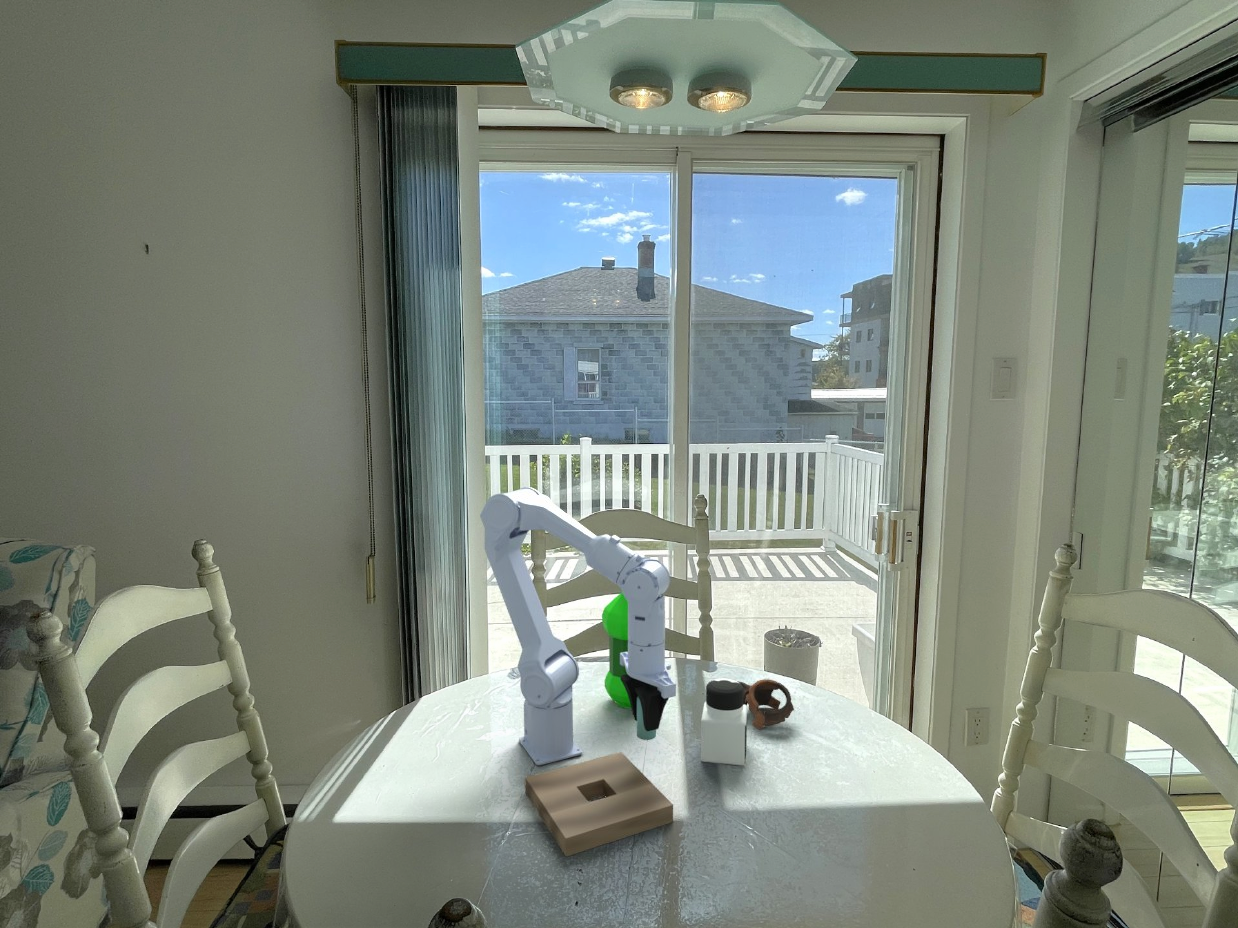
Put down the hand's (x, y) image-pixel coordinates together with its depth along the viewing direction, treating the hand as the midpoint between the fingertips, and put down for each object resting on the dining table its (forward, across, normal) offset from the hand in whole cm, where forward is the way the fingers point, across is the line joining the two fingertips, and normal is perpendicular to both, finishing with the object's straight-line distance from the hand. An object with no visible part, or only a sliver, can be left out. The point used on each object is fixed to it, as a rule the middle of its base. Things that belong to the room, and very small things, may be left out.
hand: (646, 724), depth 108 cm
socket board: (+8, -5, +11) cm, 14 cm away
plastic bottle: (+8, +23, -9) cm, 26 cm away
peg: (+2, 0, 0) cm, 2 cm away
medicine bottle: (+8, -1, -14) cm, 16 cm away
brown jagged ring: (+8, +6, -27) cm, 29 cm away
